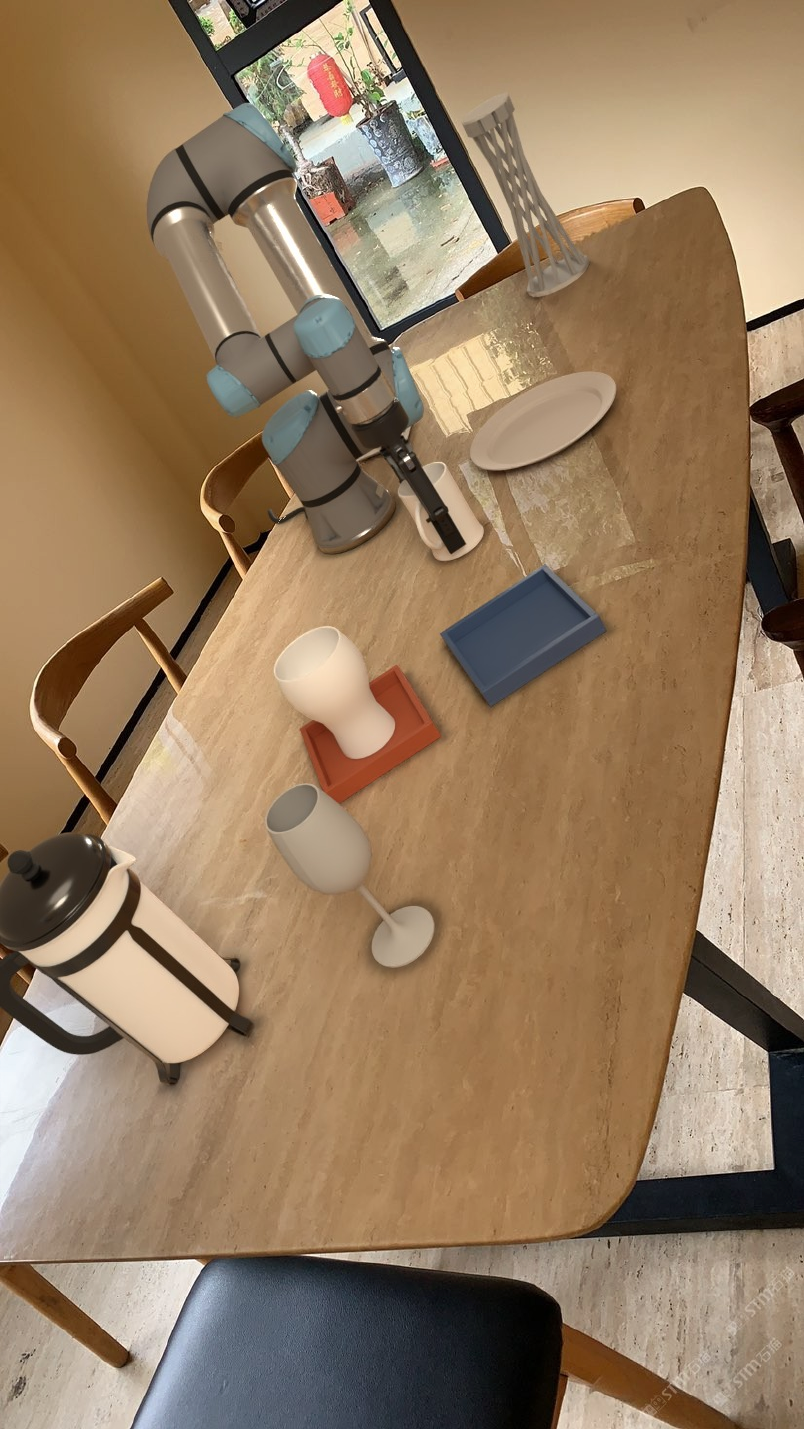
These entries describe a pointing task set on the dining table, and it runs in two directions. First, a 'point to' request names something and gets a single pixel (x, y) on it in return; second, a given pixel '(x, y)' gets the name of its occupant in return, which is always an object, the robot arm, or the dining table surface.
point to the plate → (543, 421)
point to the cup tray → (408, 738)
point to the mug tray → (521, 633)
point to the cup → (334, 690)
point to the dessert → (376, 451)
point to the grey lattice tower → (524, 197)
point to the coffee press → (112, 954)
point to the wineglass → (342, 866)
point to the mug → (457, 511)
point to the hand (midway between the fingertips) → (446, 535)
